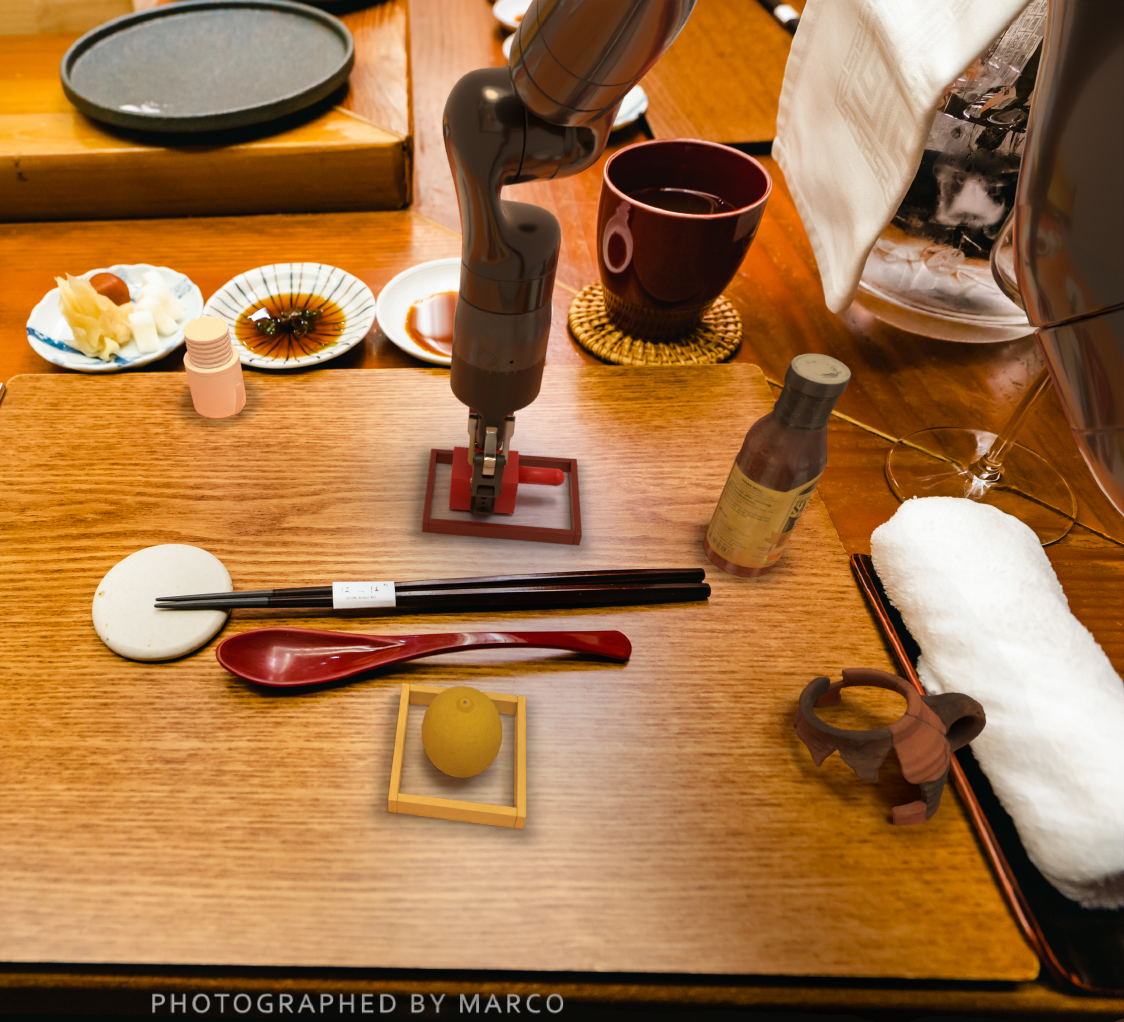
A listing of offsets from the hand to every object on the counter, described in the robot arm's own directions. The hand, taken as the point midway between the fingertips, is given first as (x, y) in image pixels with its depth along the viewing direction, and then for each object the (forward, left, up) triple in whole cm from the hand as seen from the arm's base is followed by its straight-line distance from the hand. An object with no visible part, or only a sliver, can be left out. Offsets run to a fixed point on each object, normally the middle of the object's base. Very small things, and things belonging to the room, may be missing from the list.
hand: (482, 492), depth 75 cm
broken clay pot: (-29, +23, -1) cm, 37 cm away
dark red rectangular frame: (-2, 0, -1) cm, 2 cm away
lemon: (+1, +27, -1) cm, 27 cm away
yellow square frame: (+1, +27, -1) cm, 27 cm away
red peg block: (-2, 0, 0) cm, 2 cm away
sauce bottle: (-23, +4, -1) cm, 23 cm away
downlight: (+29, -12, -1) cm, 32 cm away
